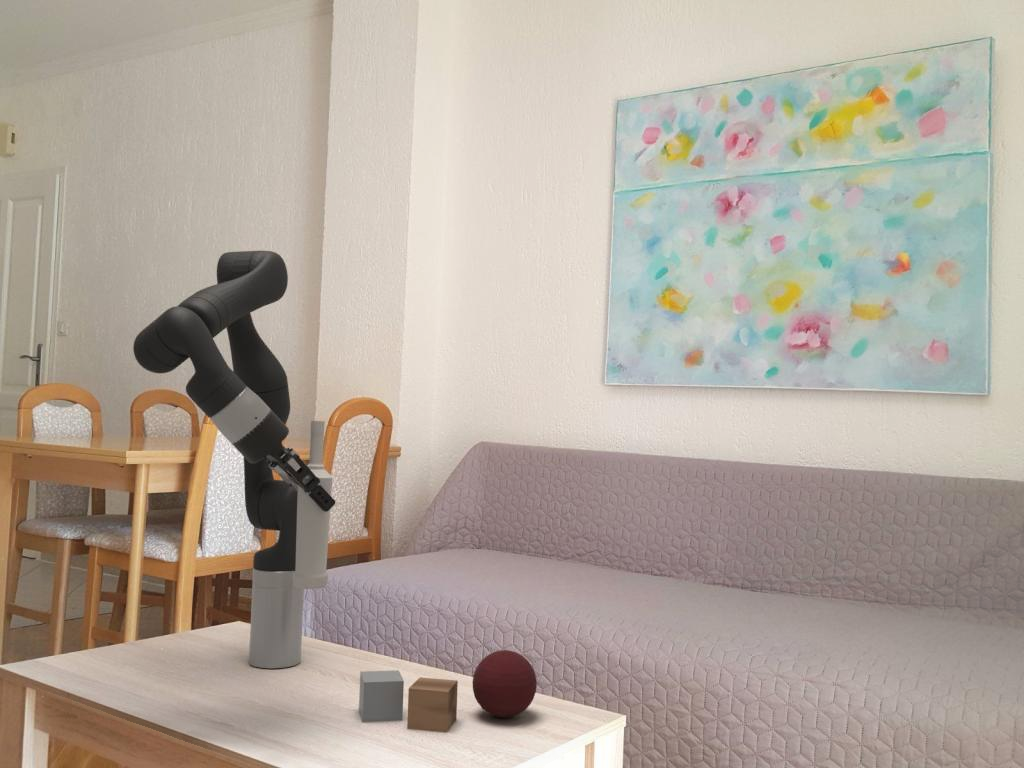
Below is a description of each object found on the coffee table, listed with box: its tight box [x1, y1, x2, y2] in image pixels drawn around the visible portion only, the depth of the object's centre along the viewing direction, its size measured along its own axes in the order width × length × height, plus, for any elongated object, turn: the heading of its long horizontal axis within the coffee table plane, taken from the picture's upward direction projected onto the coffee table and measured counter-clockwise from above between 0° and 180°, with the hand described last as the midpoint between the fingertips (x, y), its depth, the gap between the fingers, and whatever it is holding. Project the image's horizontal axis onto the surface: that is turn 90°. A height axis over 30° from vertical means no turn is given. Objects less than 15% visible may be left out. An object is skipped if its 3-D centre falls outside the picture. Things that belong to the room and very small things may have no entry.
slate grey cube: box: [358, 669, 405, 723], centre depth 143 cm, size 6×6×6 cm
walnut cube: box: [406, 677, 459, 734], centre depth 140 cm, size 6×6×6 cm
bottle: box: [293, 420, 333, 590], centre depth 141 cm, size 5×5×25 cm
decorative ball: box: [472, 649, 538, 719], centre depth 144 cm, size 10×10×10 cm
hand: (325, 505), depth 142 cm, fingers closed on bottle, 5 cm apart
